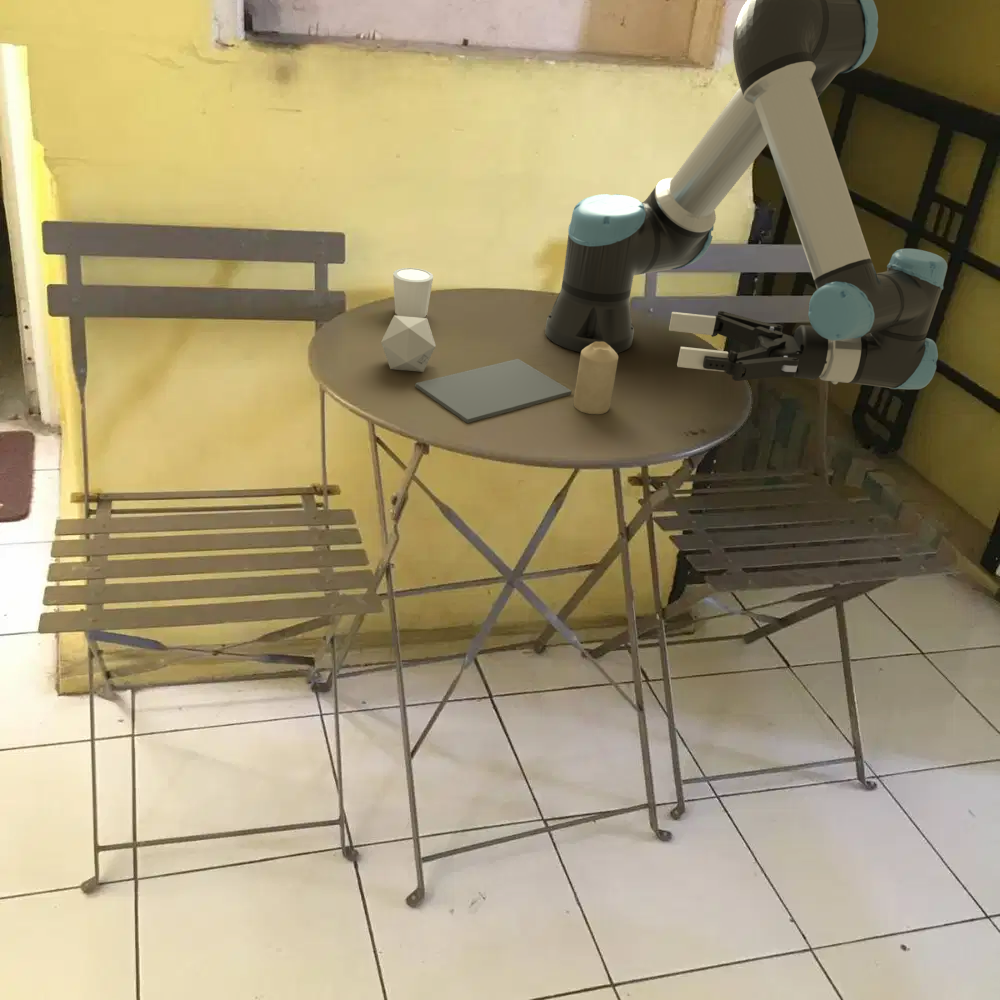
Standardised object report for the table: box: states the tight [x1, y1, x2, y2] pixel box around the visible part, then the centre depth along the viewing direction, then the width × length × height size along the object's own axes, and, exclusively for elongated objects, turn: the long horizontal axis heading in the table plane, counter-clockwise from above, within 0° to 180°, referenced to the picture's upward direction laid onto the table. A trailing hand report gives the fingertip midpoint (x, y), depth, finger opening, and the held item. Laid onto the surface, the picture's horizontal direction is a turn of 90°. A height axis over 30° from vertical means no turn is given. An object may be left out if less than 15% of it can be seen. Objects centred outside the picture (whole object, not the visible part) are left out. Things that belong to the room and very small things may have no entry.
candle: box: [572, 342, 619, 415], centre depth 150 cm, size 6×6×10 cm
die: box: [380, 314, 436, 373], centre depth 156 cm, size 8×9×10 cm
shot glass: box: [392, 267, 434, 318], centre depth 175 cm, size 7×7×7 cm
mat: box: [415, 358, 573, 424], centre depth 154 cm, size 20×13×1 cm, turn 129°
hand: (674, 338), depth 146 cm, fingers open, 13 cm apart
